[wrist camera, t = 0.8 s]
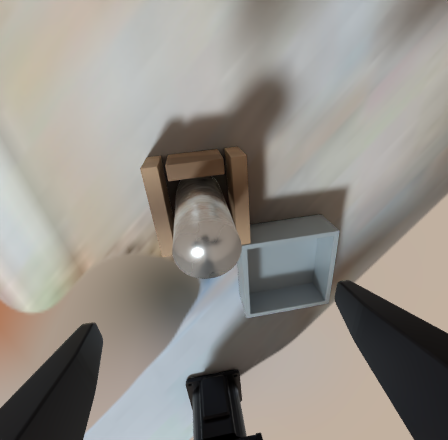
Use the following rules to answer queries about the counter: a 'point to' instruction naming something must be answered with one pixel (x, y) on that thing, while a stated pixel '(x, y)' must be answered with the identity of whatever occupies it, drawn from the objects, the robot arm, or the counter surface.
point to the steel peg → (204, 230)
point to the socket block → (192, 168)
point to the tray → (287, 265)
